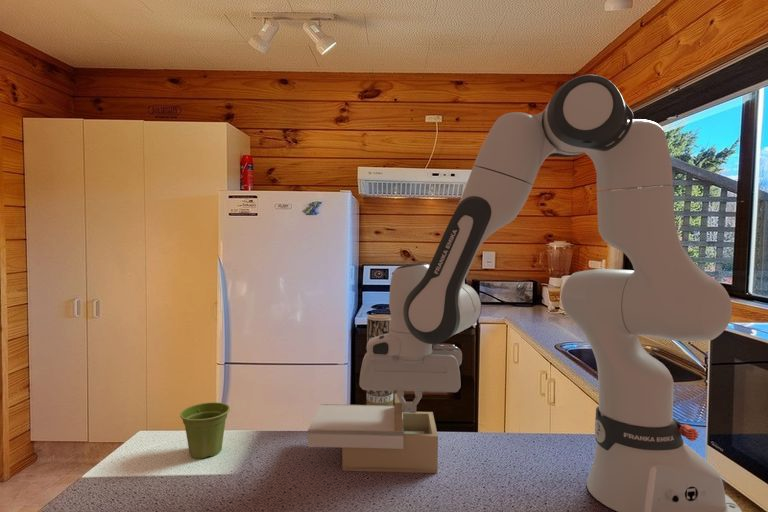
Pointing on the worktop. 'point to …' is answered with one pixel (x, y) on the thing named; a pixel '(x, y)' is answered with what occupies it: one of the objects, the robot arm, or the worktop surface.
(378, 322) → the bark textured cylinder
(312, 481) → the worktop surface
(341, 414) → the lid
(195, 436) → the plant pot
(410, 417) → the tan open box
